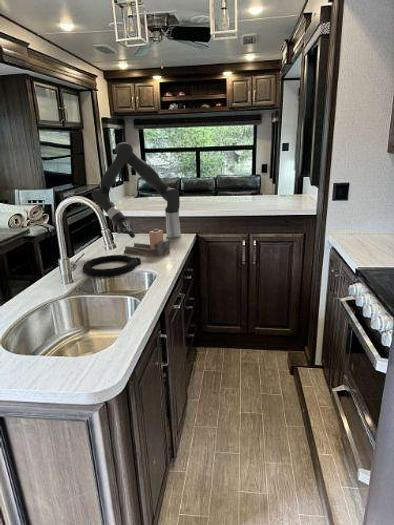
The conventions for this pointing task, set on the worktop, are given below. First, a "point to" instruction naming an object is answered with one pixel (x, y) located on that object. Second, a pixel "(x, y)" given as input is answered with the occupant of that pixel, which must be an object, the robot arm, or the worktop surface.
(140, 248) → the channel board
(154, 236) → the block
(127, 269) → the cable lock
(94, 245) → the worktop surface
